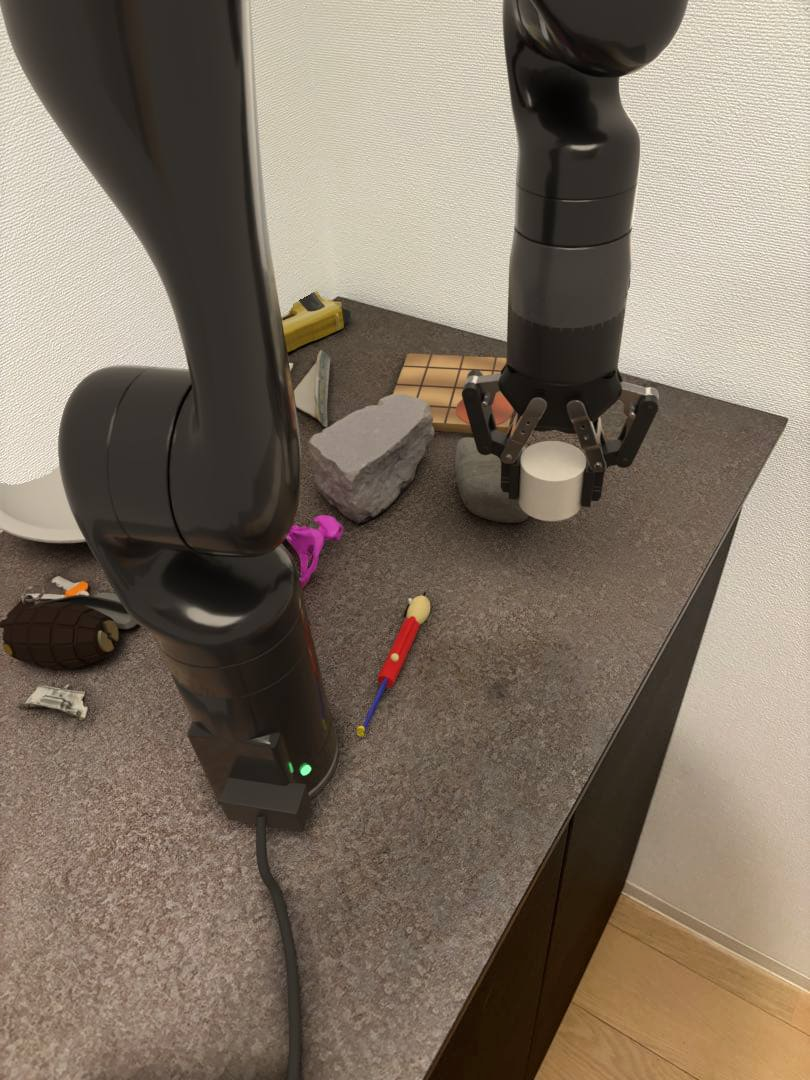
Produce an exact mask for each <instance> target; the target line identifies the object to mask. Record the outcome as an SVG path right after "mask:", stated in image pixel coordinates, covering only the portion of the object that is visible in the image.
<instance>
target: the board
mask: <svg viewBox="0 0 810 1080" xmlns="http://www.w3.org/2000/svg"><path fill="white" fill-rule="evenodd" d="M506 358H507V357H497V356H495V357H491V356H490V357H489V356H471V355H465V354H464V355H453V354H452V355H450V354H433V353H430V354H428V353H408V352H407V354H406V358H405V361H404V363H403V365H402V367H401V371H400V374H399V376H398V379H397V381H396V384H395V387H394V390H393V393H392V394H406V395H409V396H411V397H416V398H419V399H422V400H423V401H425V402H426V403H428V404H429V406H430V409H431V412H432V415H433V422H432V426H433V428H434V432H446V433H459V434H473V433H472V430H471V426H470V423H469V419H468V416H467V412H466V409H465V405H464V402H463V398H462V391H463V388H464V385H465V381H466V378H467V375H468V373H469V372H470V371H472V370H478V371H480V372H481V373H482V374H483V376H485V375H492V374H499V373H501V370H502V369H503V367H504V366H505V364H506ZM491 407H492V411H493V415H494V419H495V423H496V426H497V430H498V431H500V432H503V433H505V434H507V432H508V430H509V428H510V426H511V424H512V417H513V413H514V409H513V407H512V406H511V405H510V403H509V402H508V401H507V400H506V398H505V397H504V396H503V394H502V393H501V392H500V391H499V392H497V393H496V395H495V399H494V402H493V404H492V405H491Z"/></svg>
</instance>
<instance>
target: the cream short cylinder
mask: <svg viewBox="0 0 810 1080" xmlns="http://www.w3.org/2000/svg"><path fill="white" fill-rule="evenodd" d="M586 462H587V458H586V455H585V452H584V451H583V450H582V449H579V448H578V447H577V446H575V445H573V444H570V443H568V442H565V441H560V440H545V441H544V440H543V441H539V442H536V443H533V444H531V445H529V446H528V447H526V449H525V450H524V451H523V453H522V454H521V458H520V470H519V491H518V503H519V505H520V507H521V509H522V510H523V511H524V512H525V513H526V514H528V515H529V517H532V518H533V519H536V520H540V521H543V522H544V521H545V522H559V521H560V522H561V521H564V520H567V519H570V518H572V517H574V516H575V515H576V514H577V513H578V512H579V511H580V510H581V508H582V507H581V505H582V497H583V488H584V480H585V471H586Z"/></svg>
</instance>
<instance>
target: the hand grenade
mask: <svg viewBox="0 0 810 1080" xmlns="http://www.w3.org/2000/svg"><path fill="white" fill-rule="evenodd" d="M36 588H41V589H42V590H41V592H40V593H38V594H39V595H38V596H37V597H35V598H33V596H31V595H27V596H26V594H29V592H31V591H32V590H33V589H36ZM44 594H46V588H45V586H44V585H43V584H40V583H34V584H31V585H30V586H28V587H27V588H26V589H25V590H24V591H23V593H22V595H23V597H21V599H20V601H18V602H17V603H16V604H15V606H13V608H12V609H11V610H10V611H9V612H8V613H7V614H6V618H5V619H2V620H1V621H0V629H3V631H2V641H3V643H2V648H3V651H4V652H5V653H6V654H7V656H9V657H11V658H13V659H15V660H18V661H19V662H22V663H24V664H27V665H30V666H33V667H38V668H41V669H48V670H70V669H78V668H80V667H85V666H88V665H91V664H94V663H97V662H98V661H101V660H103V659H106V658H108V657H109V656H111V654H113V653H114V651H115V649H116V648H117V642H118V641H119V628H118V627H117V625H116V623H115V622H114V621H113V619H112V618H110V617H109V616H107V615H105V614H103V613H101V612H99V611H96V610H95V609H93V608H90V607H96V608H102V609H107V610H110V611H114V612H118V613H122V614H128V613H127V611H126V610H125V608H124V607H123V605H122V603H120V602H117V601H113V600H109V599H104V598H100V597H95V596H94V595H89V596H88V595H75V596H69V597H64V598H59V599H48V600H43V601H40V602H38V603H36V602H37V601H39V600H41V599H40V598H41V597H42V596H43V595H44ZM87 606H88V607H87ZM128 615H129V614H128Z"/></svg>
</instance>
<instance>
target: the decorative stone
mask: <svg viewBox="0 0 810 1080" xmlns="http://www.w3.org/2000/svg"><path fill="white" fill-rule="evenodd" d="M432 422H433V415H432V412H431V409H430V406H429V404H428V403H426V402H425V401H423V400H422V399H419V398H416V397H411V396H409V395H406V394H393V393H392V394H389V395H387V396H384V397H382V398H379V400H378V403H377V404H376V405H375V404H374V405H373V404H371V405H370V404H369V405H366V406H365V407H363V408H362V409H357V410H355V411H353V412H350V413H349V414H347V415H346V416H344V417H343V418H341V419H339V420H337V421H335V422H334V423H333V424H332V423H331V425H330V426H327V427H325V428H323V429H322V430H321V432H317V433H315V434H313V435H312V436H311V437H310V439H309V440H308V442H307V447H308V452H309V455H310V457H311V459H310V460H311V462H312V466H313V469H314V484H315V486H316V488H317V490H318V491H319V494H320V495H321V497H323V498H324V500H325V501H326V502H328V503H329V505H330V506H331V507H332V508H335V509H336V510H337V511H338V512H340V513H341V514H342V515H343V516H344V517H345V518H347V519H349V520H350V521H352V522H354V523H356V524H362V523H365V522H368V521H369V520H371V519H374V518H376V517H377V516H378V515H380V514H381V513H382V512H384V511H386V510H388V509H389V507H390V506H391V505H393V503H394V502H395V501H396V500H397V499H398V498H399V496H400V494H401V493H402V492H403V491H404V490H405V489H407V487H408V486H409V485H411V484H412V483H413V481H414V479H415V478H416V472H417V469H418V465H419V464H420V461H421V460H422V459H423V457H424V456H425V453H426V450H427V446H428V445H429V444H430V443H431V442H432V441H433V440H434V436H435V432H436V431H434V428H433V426H432Z"/></svg>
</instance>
